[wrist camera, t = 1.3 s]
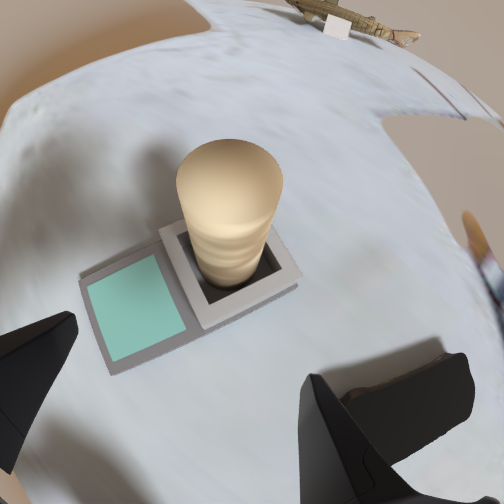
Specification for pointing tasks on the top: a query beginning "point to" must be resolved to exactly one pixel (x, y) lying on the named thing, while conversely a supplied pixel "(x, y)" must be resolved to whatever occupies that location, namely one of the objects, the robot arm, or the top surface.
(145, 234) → the top surface
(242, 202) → the maple post
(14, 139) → the top surface
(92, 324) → the jig board
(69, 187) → the top surface
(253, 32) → the top surface
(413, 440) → the black sponge
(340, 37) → the wood carving
